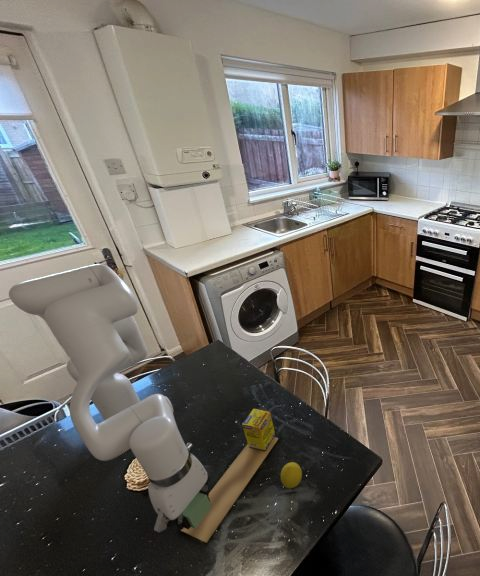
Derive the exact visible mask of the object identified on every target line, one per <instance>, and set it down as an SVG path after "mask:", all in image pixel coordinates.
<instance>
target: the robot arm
mask: <svg viewBox="0 0 480 576" xmlns="http://www.w3.org/2000/svg"><path fill="white" fill-rule="evenodd" d="M8 297H9V299H10V301H11V302H12V303H13V304H14V305H15V306H16V307H17V308H18V309H19V310H21V311H23V312H25V313H26V314H29V315H33V316H38V317H40V318H41V319H42V320H43V321H44V322H45V323H46V325H47V327H48V329H49V330H50V331H51V334H52V335H53V336H54V338H55V339H56V341H57V343H58V344H59V345H60V347H61V349H63V350H64V352H65V353H66V355H67V357H68V358H69V359H68V361H67V363H66V371H67V372H68V374H69V375H70V377H71V378H72V379H73V380H74V381H75V382H76V384H75V385H74V389H73V391H72V394H71V397H70V401H69V417H70V420H71V423H72V425H73V427H74V429H75V431H76V432H77V434H78V435H79V437H80V438H81V441H82V442H83V443H84V446H85V447H86V448H87V450H88V451H89V453H90V454H91V455H92V456H93V457H94V458H95V459H97V460H99V461H103V462H107V461H111V460H114V459H116V458H118V457H120V456H121V455H122V454H124V453H126V452H127V451H129V450H131V452H132V454H133V455H134V457H135V459H136V460H137V462H138V463H139V465H140V467H141V468H142V470H143V472H144V473H145V475H146V477H147V478H148V480H149V484H148V485H147V489H148V490H147V491H148V496H149V499H150V502H151V505H152V507H153V510H154V512H155V513H156V514H157V517H156V520H155V524H154V527H153V531H154V532H156V533H158V534H159V533H161V532H163V531H166V529H167V528H171V527H173V526H176V528H178V529H179V530H180V531H181V530H182V529H183V528H186V529H188V530H189V529H190V526H191V525H190V524H189V522H188V520H187V518H185V517H183V511H184V509H185V508H186V507H187V506H188V504H189V503H190V502H191V501H192V500H193V498H194V497H195V496H196V495H197V493H198V492H200V493H202V494H205V495H207V497H208V496H209V492H208V489H209V486H208V484H209V481H210V478H211V477H210V475H211V473H212V471H213V468H214V466H213V465H211V464H202V463H201V461H200V460H199V459H198V458H197V456H195V455H194V454H193V453H191V449H192V448H193V446H194V444H192V443H191V442H187V443H185V441H184V439H183V437H182V435H181V432H180V430H179V428H178V425H177V422H176V419H175V416H174V406H173V404H172V402H171V400H170V399H169V397H167V396H166V395H164V394H162V393H154V394H151V395H149V396H147V397H145V398H142V399H140V398H139V395H138V394H137V391H136V390H135V388H134V386H133V384H132V382H131V381H130V379H129V378H128V377H127V376H126V375H124V374H122V373H120V372H121V371H123V370H124V371H125V370H127V369H128V368H130V367H132V366H134V365H136V364H138V363H140V362H142V361H143V360H145V359H146V358H147V356H148V348H147V345H146V342H145V341H144V338H143V335H142V333H141V330H140V328H139V325H138V323H137V321H136V319H135V317H134V315H136V314H137V313H138V312H139V303H138V299H137V298H136V296H135V294H134V292H133V290H132V289H131V288H130V287H129V286H128V285H127V283H126V282H125V281H124V280H123V279H122V278H121V277H120V276H119V275H118V274H117V273H116V272H115V271H114V270H113V268H112V267H110V266H108V265H106V264H102V263H96V264H95V263H94V264H90V265H86V266H82V267H78V268H74V269H70V270H66V271H62V272H57V273H53V274H49V275H46V276H43V277H38V278H34V279H33V278H32V279H30V280H26V281H22V282H18V283H15V284H14V285H13V286H11V287H10V289H9V291H8ZM91 402H92V404H93V405H94V407H95V408H96V410H97V412H98V413H99V415H100V416H101V418H102V419H103V421H101V422H99V423H97V422H96V421H95V419H94V418H93V416H92V414H91V410H90V409H91V408H90V404H91ZM208 499H209V497H208ZM209 502H210V499H209Z"/></svg>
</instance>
